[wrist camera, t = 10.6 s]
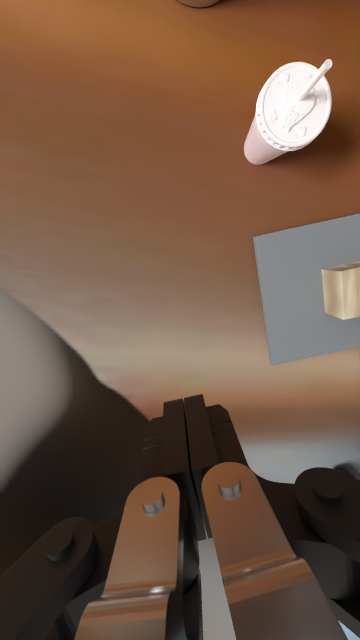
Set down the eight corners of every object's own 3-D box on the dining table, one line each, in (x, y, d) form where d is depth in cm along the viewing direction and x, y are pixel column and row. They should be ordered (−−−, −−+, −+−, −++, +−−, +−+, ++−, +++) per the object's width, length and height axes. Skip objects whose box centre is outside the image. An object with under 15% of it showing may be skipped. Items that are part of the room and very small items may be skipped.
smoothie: (295, 132, 32) (386, 44, 19) (270, 186, 34) (339, 140, 20) (247, 107, 32) (306, -4, 18) (224, 163, 33) (263, 100, 19)
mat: (270, 363, 39) (272, 365, 39) (252, 236, 35) (254, 236, 34) (434, 328, 39) (438, 329, 39) (436, 196, 35) (441, 195, 34)
